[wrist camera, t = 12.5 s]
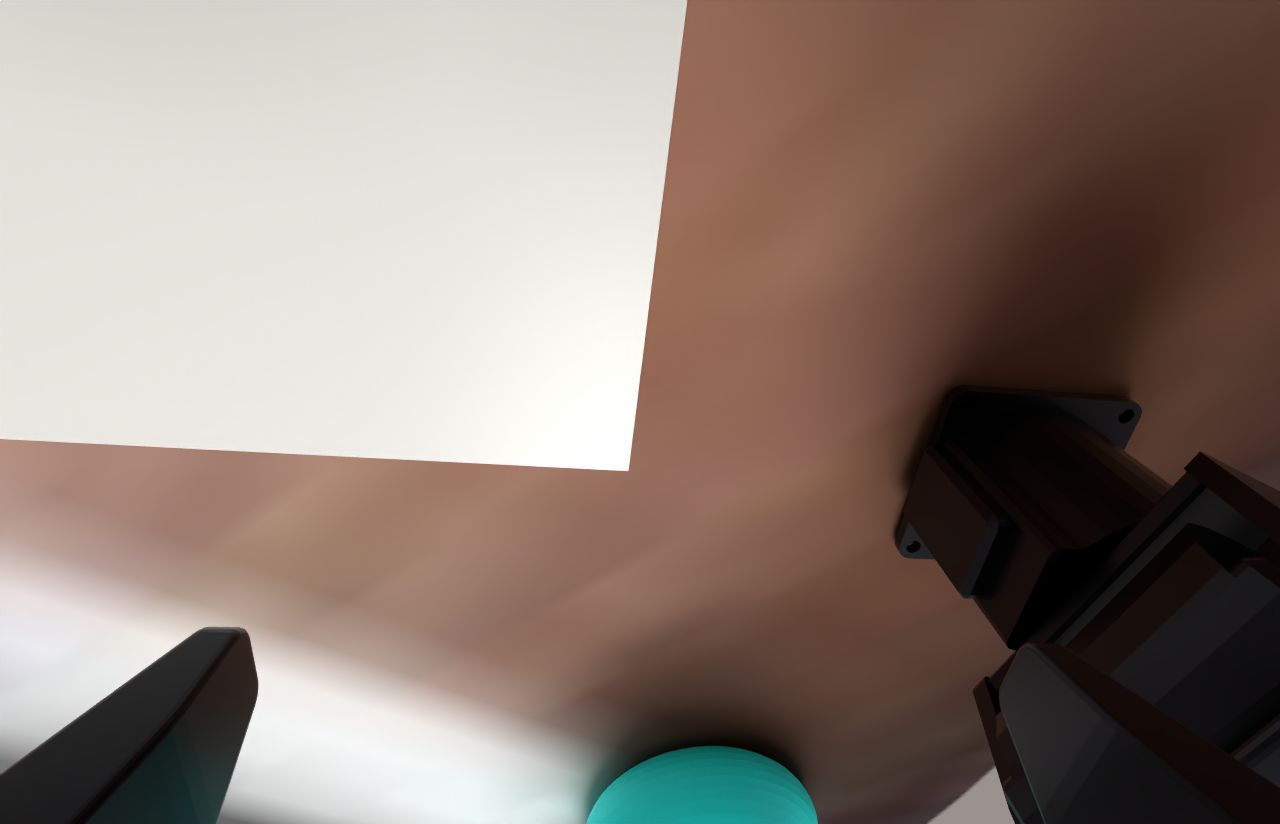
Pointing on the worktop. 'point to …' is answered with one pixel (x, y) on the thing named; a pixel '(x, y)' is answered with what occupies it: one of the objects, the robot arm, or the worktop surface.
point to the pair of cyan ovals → (705, 791)
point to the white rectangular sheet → (333, 224)
